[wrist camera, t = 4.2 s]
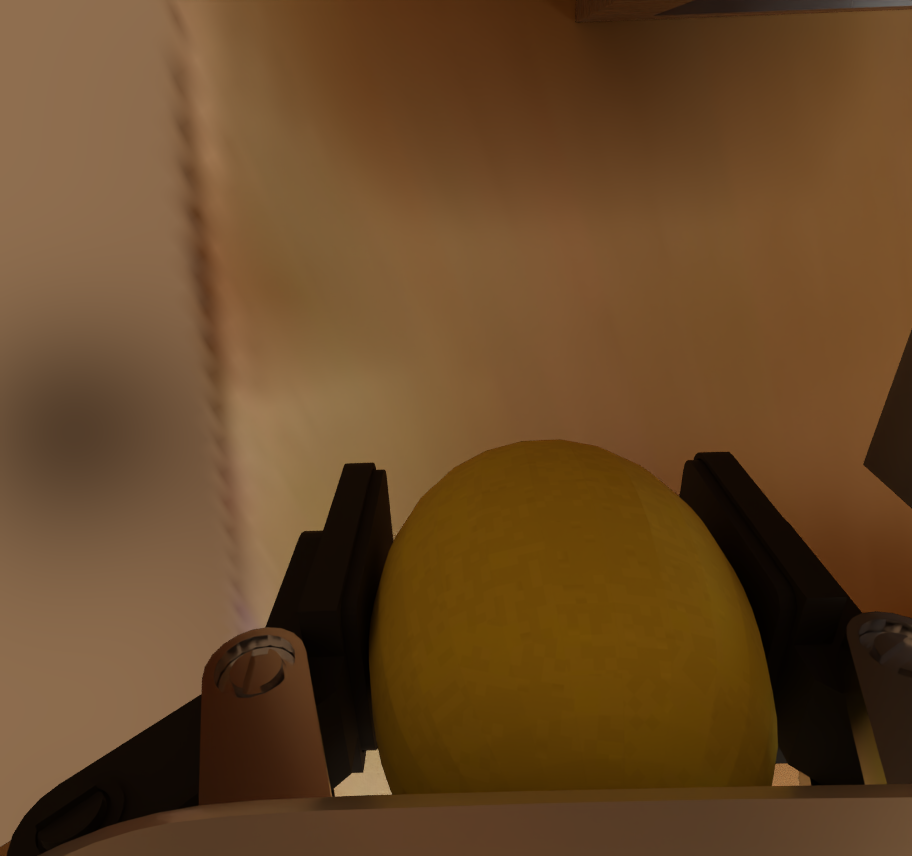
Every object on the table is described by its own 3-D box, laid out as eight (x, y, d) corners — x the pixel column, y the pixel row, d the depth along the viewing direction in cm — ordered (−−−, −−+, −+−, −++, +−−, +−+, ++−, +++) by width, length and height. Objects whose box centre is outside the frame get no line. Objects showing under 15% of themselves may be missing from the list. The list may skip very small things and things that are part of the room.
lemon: (342, 455, 12) (187, 909, 5) (588, 316, 11) (824, 671, 4) (480, 628, 15) (502, 1118, 7) (700, 528, 13) (987, 1008, 6)
